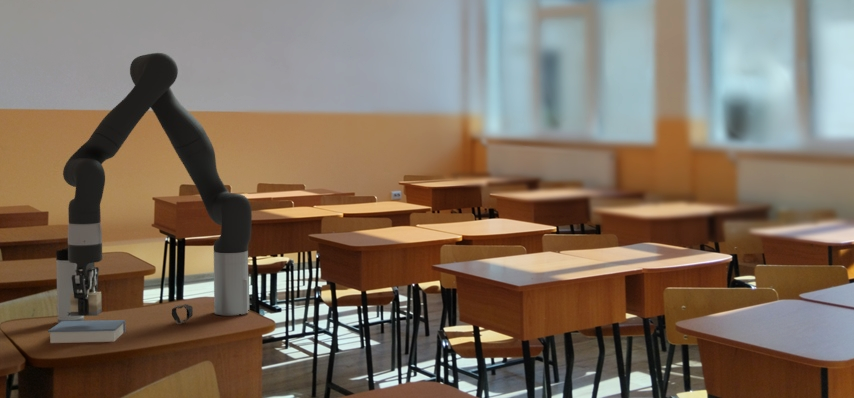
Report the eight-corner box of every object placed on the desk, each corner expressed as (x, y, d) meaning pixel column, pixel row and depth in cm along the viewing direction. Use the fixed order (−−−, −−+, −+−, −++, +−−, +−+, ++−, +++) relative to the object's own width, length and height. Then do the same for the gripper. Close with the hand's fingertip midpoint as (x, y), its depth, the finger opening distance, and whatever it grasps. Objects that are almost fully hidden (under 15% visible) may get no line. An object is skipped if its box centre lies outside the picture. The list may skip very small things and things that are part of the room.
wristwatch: (189, 325, 207) (188, 306, 206) (171, 324, 208) (170, 305, 208) (195, 322, 210) (194, 303, 209) (177, 321, 211) (177, 302, 210)
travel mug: (75, 325, 205) (73, 248, 204) (52, 324, 207) (50, 247, 205) (90, 320, 211) (88, 245, 210) (67, 319, 213) (66, 244, 211)
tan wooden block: (101, 312, 194) (101, 291, 194) (97, 315, 190) (96, 294, 190) (75, 312, 193) (75, 292, 193) (70, 316, 190) (70, 295, 189)
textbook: (125, 333, 199) (125, 319, 199) (115, 343, 189) (114, 329, 189) (62, 335, 197) (61, 321, 197) (48, 345, 187) (48, 330, 187)
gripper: (92, 245, 184) (94, 319, 185) (109, 238, 198) (110, 306, 199) (58, 245, 183) (60, 319, 184) (77, 238, 197) (79, 307, 198)
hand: (86, 312), depth 192 cm, fingers closed on tan wooden block, 4 cm apart
